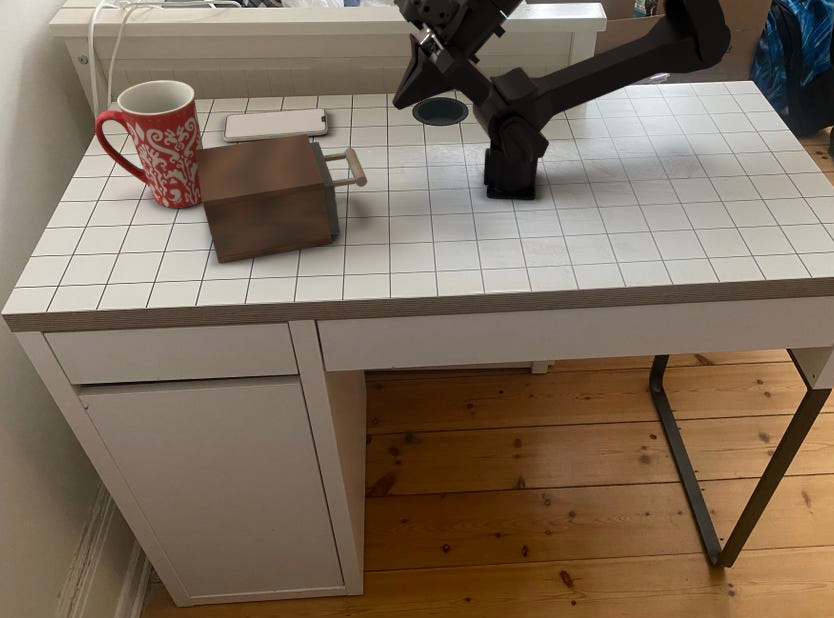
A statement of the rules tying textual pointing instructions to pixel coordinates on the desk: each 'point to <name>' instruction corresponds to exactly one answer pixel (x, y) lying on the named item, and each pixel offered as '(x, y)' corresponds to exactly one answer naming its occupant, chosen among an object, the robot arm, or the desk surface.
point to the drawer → (330, 185)
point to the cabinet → (263, 197)
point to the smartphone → (275, 124)
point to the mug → (160, 139)
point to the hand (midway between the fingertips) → (395, 106)
